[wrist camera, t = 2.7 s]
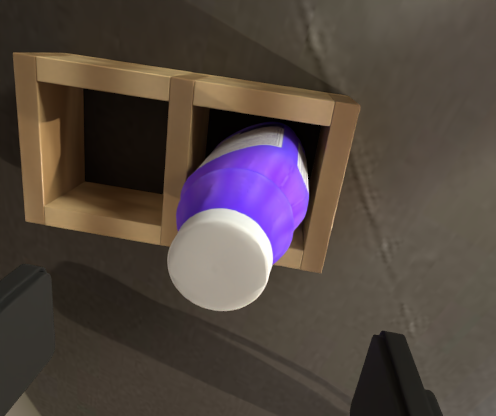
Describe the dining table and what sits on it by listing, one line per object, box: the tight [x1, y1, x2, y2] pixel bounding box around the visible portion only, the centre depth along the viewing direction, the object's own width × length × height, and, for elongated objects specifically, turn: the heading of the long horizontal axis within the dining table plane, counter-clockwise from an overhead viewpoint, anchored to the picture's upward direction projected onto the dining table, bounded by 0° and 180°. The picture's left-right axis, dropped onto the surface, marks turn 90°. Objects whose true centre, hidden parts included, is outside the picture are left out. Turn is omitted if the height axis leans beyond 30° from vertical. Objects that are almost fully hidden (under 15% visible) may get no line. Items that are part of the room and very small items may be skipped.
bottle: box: [167, 122, 309, 311], centre depth 23 cm, size 7×6×17 cm
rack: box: [13, 53, 360, 273], centre depth 29 cm, size 22×12×6 cm, turn 82°
